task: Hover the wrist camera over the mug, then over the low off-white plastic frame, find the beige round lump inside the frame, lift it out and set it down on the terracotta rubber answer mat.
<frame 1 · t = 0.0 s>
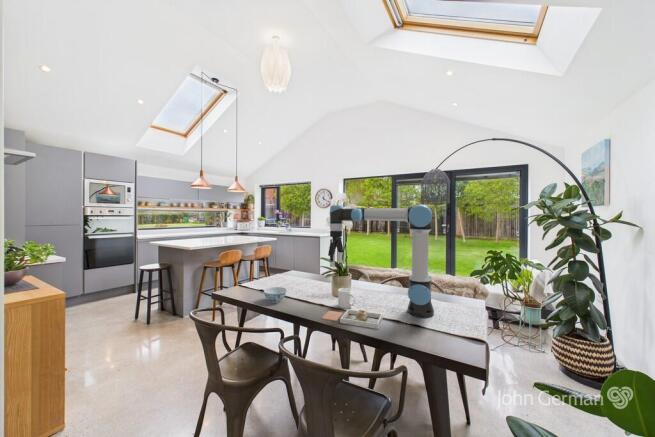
hand: (336, 264, 168), 28 cm above the table, fingers open, 13 cm apart
answer mat: (332, 315, 159), on the table
chinaware: (275, 301, 184), on the table
beige round lump: (361, 316, 152), in the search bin
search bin: (361, 320, 153), on the table
mug: (347, 307, 173), on the table
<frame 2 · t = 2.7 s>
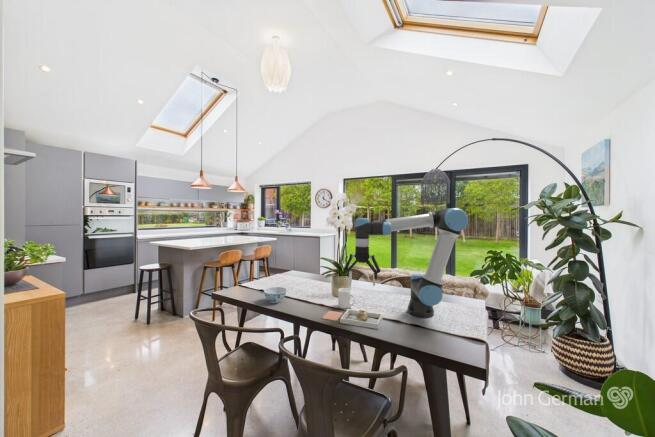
hand: (362, 283, 152), 21 cm above the table, fingers open, 13 cm apart
nothing on the table moved.
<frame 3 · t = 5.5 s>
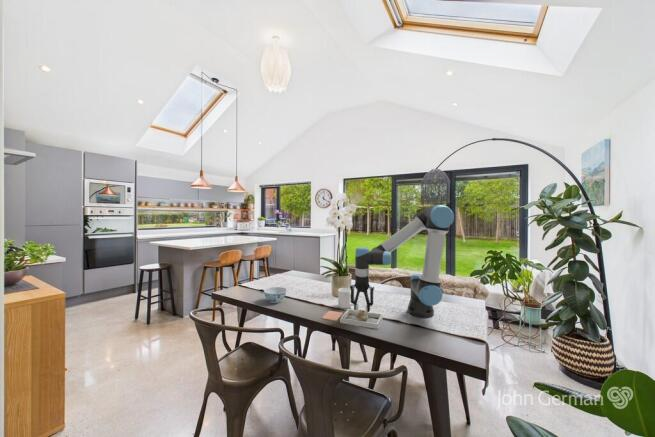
hand: (361, 316, 152), 2 cm above the table, fingers closed on beige round lump, 5 cm apart
beige round lump: (361, 316, 152), in the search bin, touching gripper
everything else where it was.
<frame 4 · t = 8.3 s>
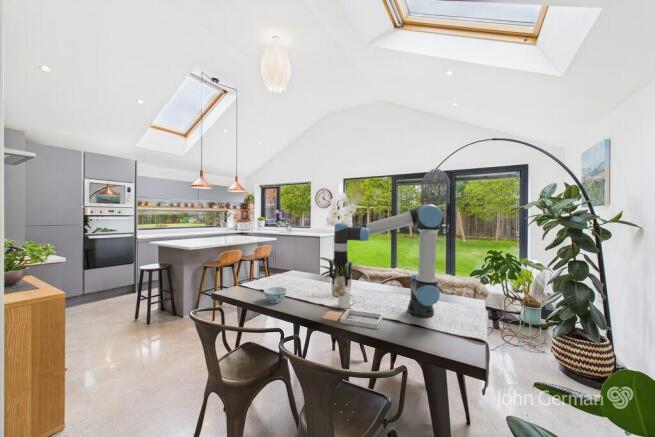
hand: (340, 290, 156), 16 cm above the table, fingers closed on beige round lump, 5 cm apart
beige round lump: (340, 290, 156), point 16 cm above the table, touching gripper
everything else where it was.
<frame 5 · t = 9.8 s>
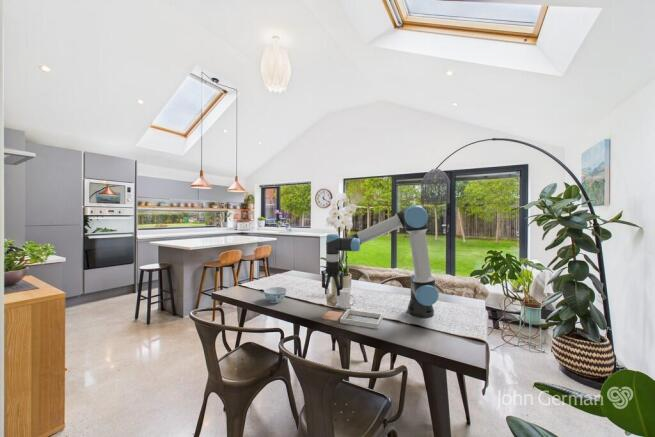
hand: (332, 300, 159), 9 cm above the table, fingers closed on beige round lump, 5 cm apart
beige round lump: (332, 300, 159), point 9 cm above the table, touching gripper
everything else where it was.
when the fingers open (4 cm above the table, at t = 11.0 s): beige round lump drops 1 cm, resting on answer mat.
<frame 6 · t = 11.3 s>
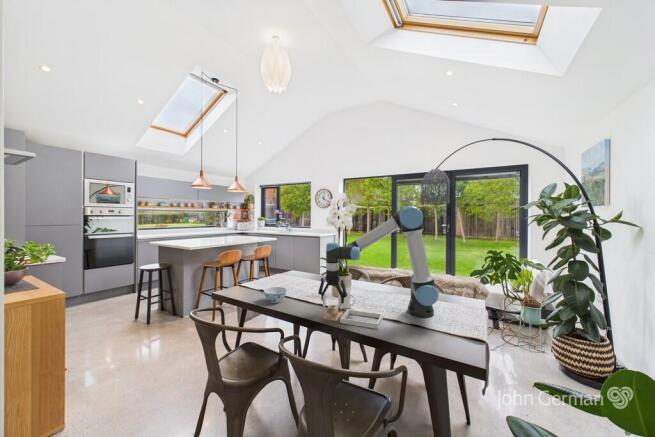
hand: (332, 307, 159), 5 cm above the table, fingers open, 10 cm apart
beige round lump: (332, 311, 159), on the answer mat
everything else where it was.
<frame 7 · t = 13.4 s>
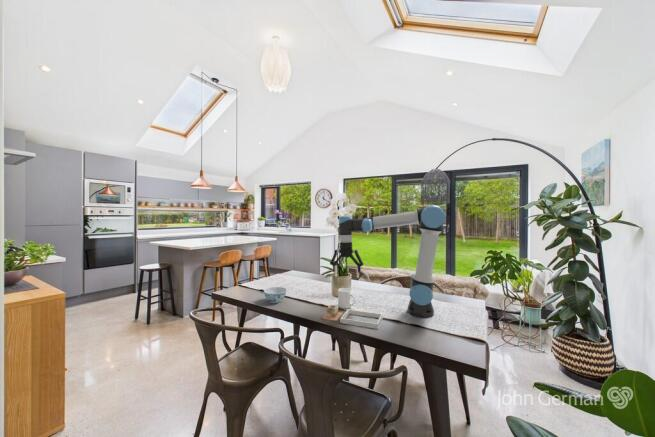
hand: (346, 276, 164), 22 cm above the table, fingers open, 13 cm apart
nothing on the table moved.
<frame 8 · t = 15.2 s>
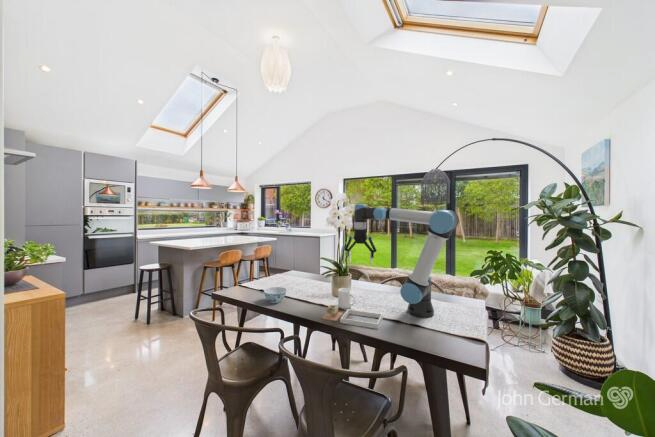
hand: (360, 262, 171), 29 cm above the table, fingers open, 13 cm apart
nothing on the table moved.
at the end: beige round lump inside the target area on the answer mat (0.0 cm from its centre), point 2.9 cm above the answer mat's base; the gripper is holding nothing; mug moved 0.2 cm from its start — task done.
